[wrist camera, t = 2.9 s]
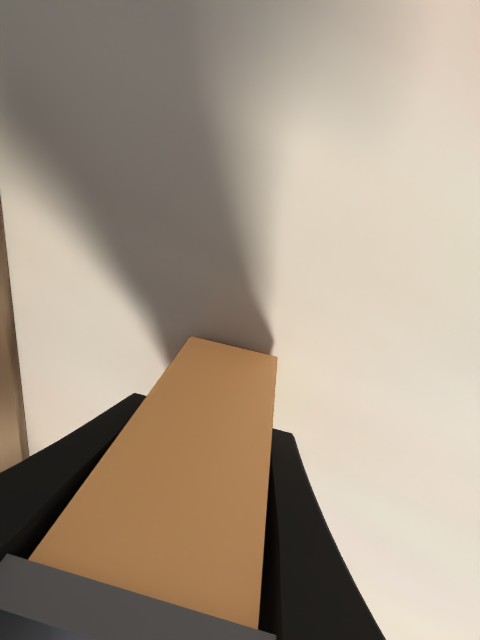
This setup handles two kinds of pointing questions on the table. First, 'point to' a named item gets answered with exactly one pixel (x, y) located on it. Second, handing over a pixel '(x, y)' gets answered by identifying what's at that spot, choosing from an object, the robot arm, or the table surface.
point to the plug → (162, 517)
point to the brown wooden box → (9, 375)
